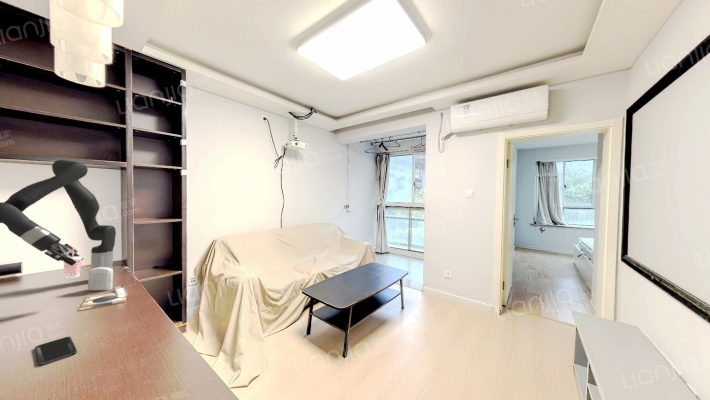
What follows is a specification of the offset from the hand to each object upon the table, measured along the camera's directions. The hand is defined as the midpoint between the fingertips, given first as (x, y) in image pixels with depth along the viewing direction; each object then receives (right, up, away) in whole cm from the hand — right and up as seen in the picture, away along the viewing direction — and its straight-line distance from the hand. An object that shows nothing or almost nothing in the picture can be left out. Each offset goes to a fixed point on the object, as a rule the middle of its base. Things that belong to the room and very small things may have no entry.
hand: (77, 262), depth 115 cm
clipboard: (+8, -20, +5) cm, 22 cm away
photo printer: (-8, -20, +17) cm, 27 cm away
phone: (+32, -22, -34) cm, 52 cm away
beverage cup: (-2, -7, -1) cm, 7 cm away
